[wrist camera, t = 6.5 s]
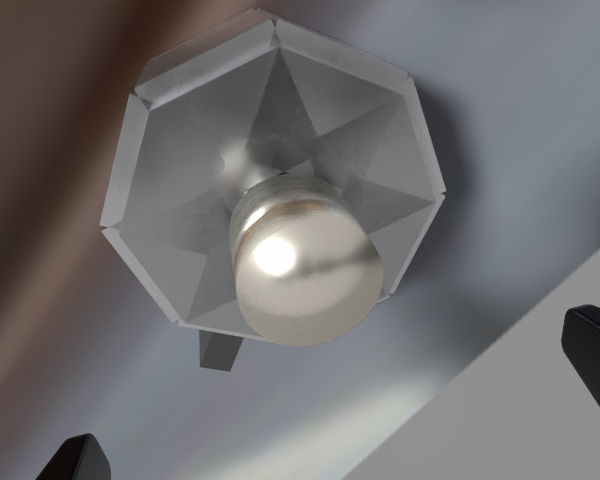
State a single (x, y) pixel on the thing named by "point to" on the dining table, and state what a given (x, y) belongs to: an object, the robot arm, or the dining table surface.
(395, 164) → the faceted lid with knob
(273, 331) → the plunger
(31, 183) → the dining table surface
